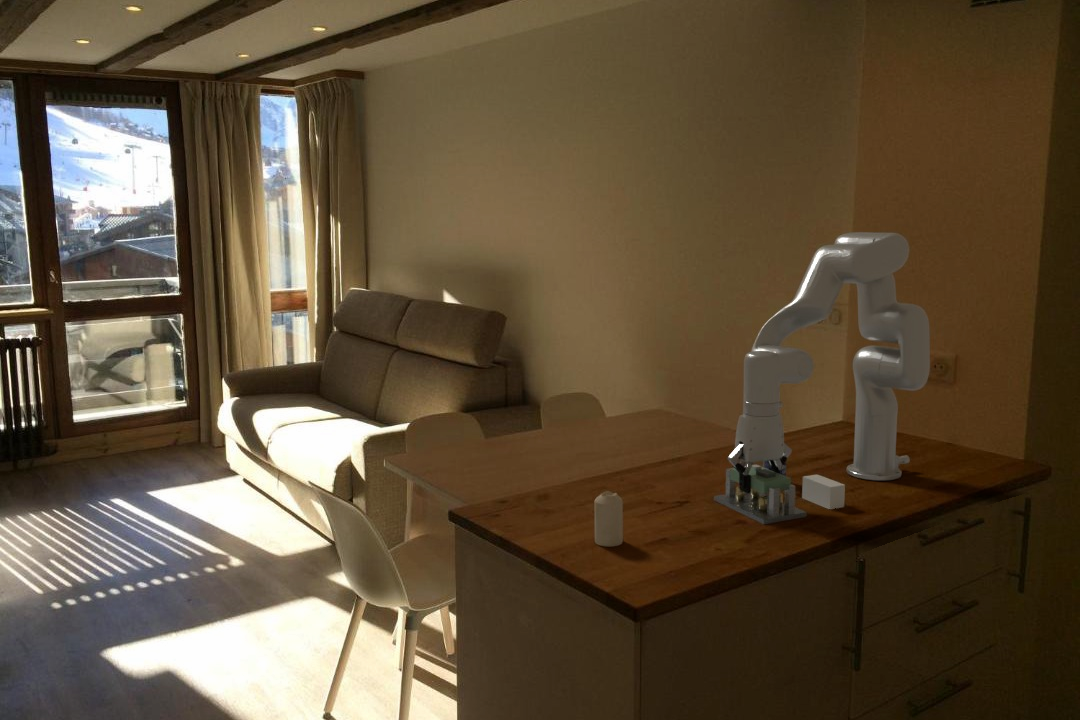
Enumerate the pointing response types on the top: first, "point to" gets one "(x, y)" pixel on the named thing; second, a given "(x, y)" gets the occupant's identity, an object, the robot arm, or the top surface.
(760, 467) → the board
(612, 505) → the candle
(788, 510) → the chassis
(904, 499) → the top surface
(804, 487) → the block
